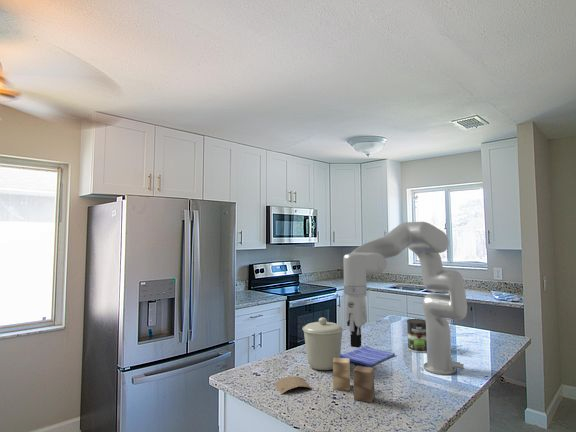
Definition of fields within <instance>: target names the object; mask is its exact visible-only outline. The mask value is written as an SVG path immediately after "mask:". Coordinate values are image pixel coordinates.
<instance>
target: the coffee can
mask: <svg viewBox="0 0 576 432" xmlns="http://www.w3.org/2000/svg"><path fill="white" fill-rule="evenodd" d="M406 323H407V325H406V327H407V329H406V330H407V350H409V351H411V352H413V353H419V354H420V353H424V354H425V353H427V341H426V320H425V319H421V318H408V319H407V320H406Z"/></svg>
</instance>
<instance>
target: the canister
mask: <svg viewBox="0 0 576 432" xmlns="http://www.w3.org/2000/svg"><path fill="white" fill-rule="evenodd" d="M344 330H345V329H344V327H343V326H341V325H340V324H338V323H335V322H331V321H328V320H327V318H325V317H320V318H318V321H314V322H309V323H307V324H305V325H303V326H302V331H303V334H304V335H303V336H304V343H305V353H306V358H307V363H308V365H309V366H310V367H311V368H312V369H315V370H318V371H330V370H333V359H334V358H340V354H341V349H342V339H343V338H342V337H343V332H344Z"/></svg>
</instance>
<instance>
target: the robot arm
mask: <svg viewBox="0 0 576 432" xmlns="http://www.w3.org/2000/svg"><path fill="white" fill-rule="evenodd" d="M449 245H450V241H449V238H448V236H447V234H446V233H445V232H444V231H442V230H441V229H440V228H438V227H437V226H435V225H433V224H431V223H429V222H426V221H408V222H407V221H406V222H402V223H400V224H398V225H397V226H396V227H394V228H393V229H392V230H391V231H389V232H388V233H386V234H385V235H384V236H382V237H378V238H376V239H374V240H373V239H372V240H371V241H368V242H365V243H363V244H361V245H359V246H358V247H356V248H355V249H354V250H352V251H351V252H350V253H346V254H344V255H343V259H342V260H343V295H344V296H345V297H346V298H345V326H346V327H348V328H349V334H350V347H352V348H357V349H359V348H361V347H362V327H363V326H365V324H366V323H367V322H368V314H367V302H366V301H367V300H366V296H367V293H368V292H367V287H368V286H367V275H376V276H377V275H380V274H382V273H384V272H385V270H386V268H387V259H388V258H393V257H396V256H398V255H400V254H401V253H402V252H403V251H404V250H405V249H409V250H410V251H411V252H413V254H415V255H416V256H417V257H418V259H419V262H420V263H419V264H420V268H421V276H422V283H423V287H424V288H425V289H426V290H427V291H431V292H432V293H431V292H430V293H428V294H425V296H423V298H422V308H423V313H424V320H426V341H427V352H426V362H425V363H424V364H423V369H424V370H426V371H427V372H429V373H432V374H434V375H435V374H436V375H444V376H445V375H452V374H455V373H456V372H457V369H459V370H464V363H461V362H460V361H459V362H457V361H454V360H453V357H452V345H451V343H452V342H451V327H450V324H449V322H448V320H447V319H450V320H456V321H459V320H460V321H461V320H463V319H465V318H466V317H467V313H468V302H467V295H466V288H465V281H464V278H463V275H462V273H460V272H459V271H458V270H456V269H455V270H454V269H445V268H444V267H443V263H442V261H443V260H442V257H441V253H444V252H445V251H447V249H448V247H449ZM433 292H434V293H433ZM435 292H436V293H435Z"/></svg>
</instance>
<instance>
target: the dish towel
mask: <svg viewBox="0 0 576 432" xmlns="http://www.w3.org/2000/svg"><path fill="white" fill-rule="evenodd" d="M395 355H396V353H394V352H389V351H384V350H381V349H375V348H373V347H370V346H367V345H363V346H361V347H360V348H356V349H354V350H352V351H348V352H345V353H340V358H350V364H353V365H355V366H363V367H370V368H371V367H373V366H375V365H378V364H381V363H382V362H384V361H387V360H389V359H391V358H393V357H394V356H395Z"/></svg>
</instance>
